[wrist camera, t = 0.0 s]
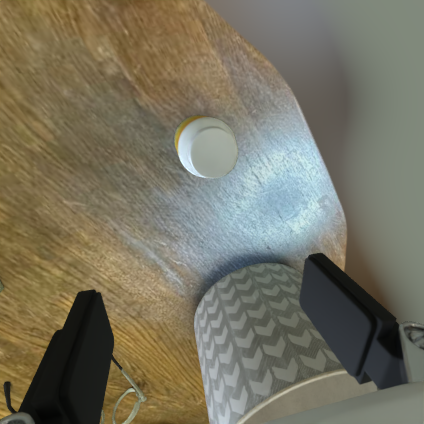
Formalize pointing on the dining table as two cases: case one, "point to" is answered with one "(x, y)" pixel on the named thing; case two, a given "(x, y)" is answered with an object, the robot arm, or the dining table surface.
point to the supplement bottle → (206, 146)
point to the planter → (265, 350)
